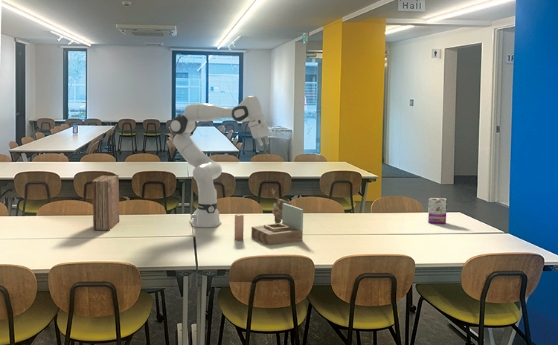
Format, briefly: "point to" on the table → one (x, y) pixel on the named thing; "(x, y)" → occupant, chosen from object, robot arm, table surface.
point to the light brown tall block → (239, 227)
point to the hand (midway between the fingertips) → (264, 144)
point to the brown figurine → (278, 208)
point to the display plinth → (282, 228)
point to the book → (105, 202)
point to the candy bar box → (437, 210)
